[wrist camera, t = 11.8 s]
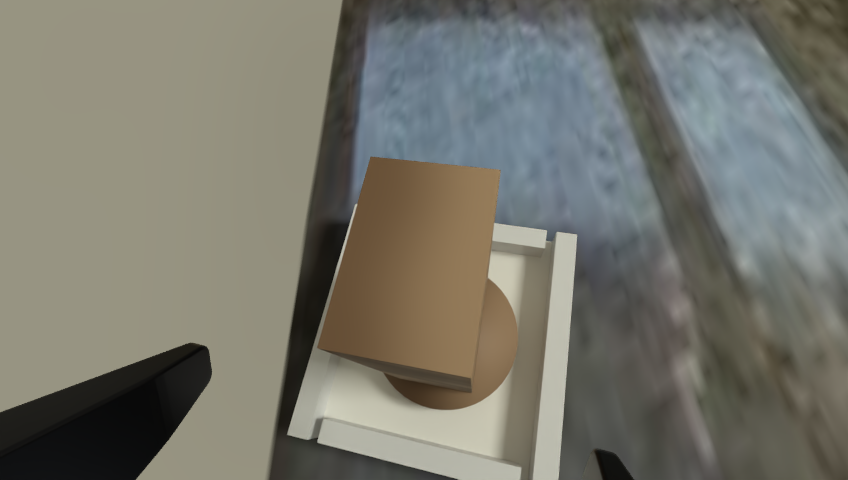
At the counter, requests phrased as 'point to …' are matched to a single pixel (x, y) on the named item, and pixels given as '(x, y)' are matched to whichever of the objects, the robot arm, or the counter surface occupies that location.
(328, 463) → the counter surface
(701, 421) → the counter surface
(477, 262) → the brown upright block
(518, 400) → the tray
